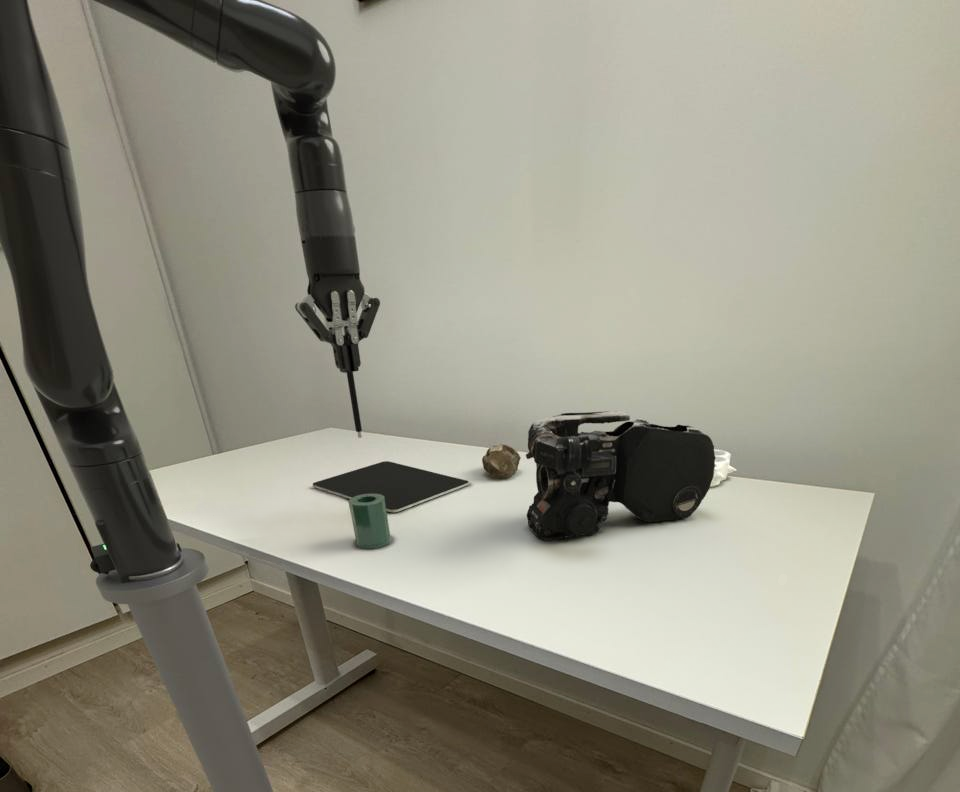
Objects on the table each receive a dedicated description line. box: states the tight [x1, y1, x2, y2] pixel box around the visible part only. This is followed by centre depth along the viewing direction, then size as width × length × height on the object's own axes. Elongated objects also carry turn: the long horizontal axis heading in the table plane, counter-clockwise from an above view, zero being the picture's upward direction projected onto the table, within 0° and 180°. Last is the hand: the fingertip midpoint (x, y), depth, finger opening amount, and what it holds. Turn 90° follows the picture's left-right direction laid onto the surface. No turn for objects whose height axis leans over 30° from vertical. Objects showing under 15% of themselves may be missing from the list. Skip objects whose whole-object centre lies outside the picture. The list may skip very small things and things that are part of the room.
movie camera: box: [525, 410, 716, 541], centre depth 84 cm, size 31×18×18 cm, turn 100°
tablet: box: [312, 460, 469, 513], centre depth 112 cm, size 27×1×20 cm
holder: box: [348, 494, 392, 550], centre depth 86 cm, size 5×6×7 cm
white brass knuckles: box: [710, 449, 737, 488], centre depth 106 cm, size 3×18×15 cm
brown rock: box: [481, 443, 521, 478], centre depth 114 cm, size 8×7×10 cm
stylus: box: [343, 334, 363, 439], centre depth 88 cm, size 1×1×15 cm
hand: (349, 371), depth 87 cm, fingers closed on stylus, 1 cm apart
